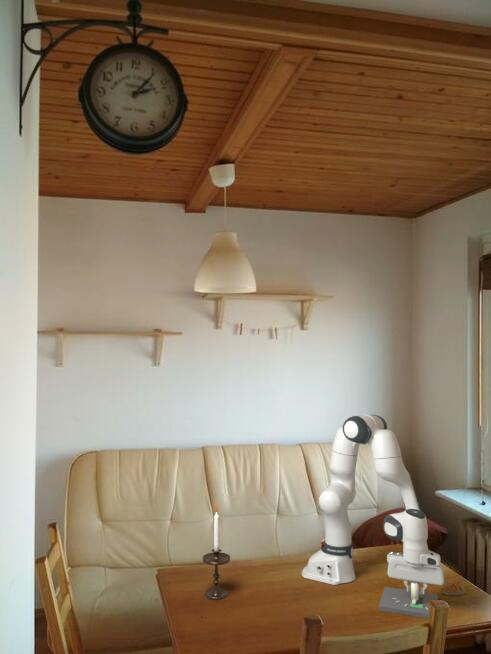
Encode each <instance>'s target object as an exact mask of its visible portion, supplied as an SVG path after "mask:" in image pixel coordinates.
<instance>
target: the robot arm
mask: <svg viewBox="0 0 491 654" xmlns="http://www.w3.org/2000/svg"><path fill="white" fill-rule="evenodd" d="M367 444H368V445H369V446H370V448H371V451H372V453H371V454H372V459H373V466H374V470H375V472H376V474H377V475H378V477H380V478H381V479H382V480H384V481H386V482H388V483H392V484H394V485H396V486H397V487H398V488H399V490H400V492H401V497H402V499H403V500H402V501H403V503H404V506H405V510H403V511H402V512H395V513H391V514H388V515H386V516H385V517H384V519H383V522H382V527H383V533H384V534H385V536H387V538H389V539H390V540H392V541H396V542H400V541H401V542H402V546H403V547H402V552H396V551H390V552H388V553H387V555H386V562H387V563H388V565H387V576H388V577H389V578H391V579H398V580H403V584H404V586H405V588H406V590H407V592H411V585H409V583H408V582H409V581H410V582H411V581H415V582H419V583H422V586H423V587H419V590H420V594H423V595H424V593H425V590H426V589H427V587H428V584H429V585H435V586H441V587H443V586H444V584H445V572H444V565H443V564H442V562H441V556H440V554H439V553H436V552H434V551H431V550H430V549H429V546H428V542H427V540H428V537H429V533H428V532H429V530H428V527H429V526H428V521H427V517H426V514H425V513H424V512H423V508H422V507H421V504H420V500H419V497H418V493H417V490H416V486H415V483H414V480H413V476H412V475H411V473H410V472H409V470H407V468H406V466H405V464H404V461H403V458H402V452H401V448H400V444H399V441H398V439H397V436H396V434H395V432H393V431H392V430H390V429H388V424H387V421H386V420H385V419H384V418H383V417H382V416H379V415H376V414H360V415H352V416H350V417H348V418H347V419H345V421H344V422H343V424H342V425H341V426H339V427H338V428H337V429H336V432H335V434H334V438H333V441H332V446H331V454H330V459H329V467H328V468H329V473H330V483H329V486H327V487H325V488H324V489H322V491H321V492H320V496H319V498H318V504H319V507H320V509H321V511H322V515H323V519H324V538H322V539H321V542H320V545H319V548H320V549H319V550H318V551H316V552H315V553H314V554H312V555H311V556H310V557H309V559H308V561H307V565H306V566H304V568H303V569H302V570H301V577H303V578H304V579H308V580H312V581H316V582H319V583H325V584H327V585H328V584H329V585H335V586H336V585H340V584H344V583H345V584H346V583H351V582H353V581H355V580H356V578H357V577H356V576H357V575H356V573H355V569H354V562H353V557H354V555H353V554H354V547H353V542H352V523H351V521H350V520H349V514H348V513H349V512H348V507H349V506H350V505H351V504H352V503H353V501H354V500H355V497H356V494H357V490H356V467H357V461H358V454H359V447H360V445H367Z"/></svg>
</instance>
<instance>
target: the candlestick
mask: <svg viewBox="0 0 491 654" xmlns="http://www.w3.org/2000/svg"><path fill="white" fill-rule="evenodd" d="M214 509H215V515H214V516H213V523H214V524H213V549H212V550H211V552H208V553H206V554H204V555H203V556H202V563H204V564H206V565H210V566H214V573H213V574H212V577H213V579H214V580H213V584H214V587H212V588H211V587H210V588H208V589H206V590H205V591H204V597H205V598H206V597H207V598H206V599H208V600H211V601H221V600H224V599H226V598H227V597H228V596H229V592H228V590H227V589H225V588H223V587H219V583H220V580H219V579H220V577H221V574H220V573H219V566H223V565H227V564H228V563H230V562H231V555H229V553H225V552H222V549H220V515H219V514H218V506H217V504H216V503H215V504H214Z"/></svg>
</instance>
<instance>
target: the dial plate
mask: <svg viewBox="0 0 491 654" xmlns="http://www.w3.org/2000/svg"><path fill="white" fill-rule="evenodd" d="M430 600H438V601H439V594H437V593H436V594H435V593H428V592H424V595H423V598H419V600H417V602H416V604H413V603H412V599H411V592H407V589H401V588H396V587H390V586H389V587H387V586H384V588H383V591H382V595H381V598H380V600H379V604H378V611H382V612H386V613H387V612H388V613H393V614H399V615H405V616H412V617H417V618H423V619H429V610H430V606H429V601H430ZM429 620H430V619H429Z"/></svg>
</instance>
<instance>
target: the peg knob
mask: <svg viewBox="0 0 491 654" xmlns="http://www.w3.org/2000/svg"><path fill="white" fill-rule="evenodd" d="M419 584H420V582H415V581H410V586H411V599H412V603H413V604H416V602H417V600H419V598H423V594H420V586H419Z"/></svg>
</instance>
